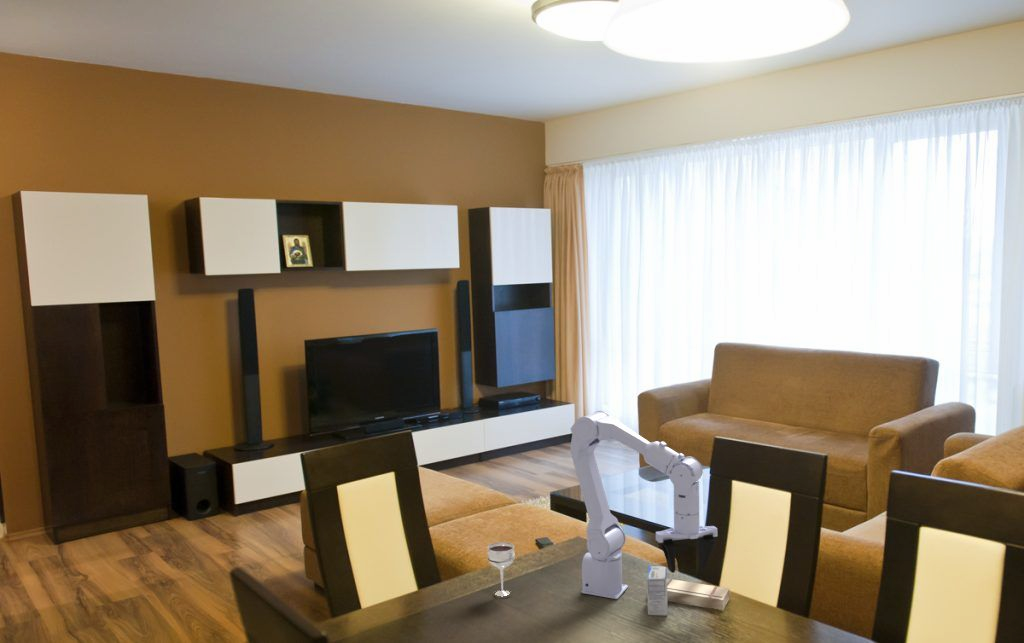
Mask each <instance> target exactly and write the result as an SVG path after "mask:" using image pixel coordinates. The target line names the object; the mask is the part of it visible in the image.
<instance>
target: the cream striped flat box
mask: <svg viewBox="0 0 1024 643" xmlns="http://www.w3.org/2000/svg"><path fill="white" fill-rule="evenodd" d="M729 600H730V588H728V587H722V586H717V585H712V584H711V585H710V584H703V583H697V582H690V581H685V580H679V579H673V578H667V602H672V603H678V604H683V605H689V606H695V607H699V608H700V607H701V608H705V607H707V608H706V609H711V608H714V609H713V610H717V609H718V610H719V611H724V609H725V608H726V606H727V604H728V602H729ZM718 610H717V611H718Z"/></svg>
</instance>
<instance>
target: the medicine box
mask: <svg viewBox="0 0 1024 643" xmlns="http://www.w3.org/2000/svg"><path fill="white" fill-rule="evenodd" d="M667 570H668V568H667V567H666V566H660V565H659V566H658V565H655V566H653V565H652V566H649V565H648V567H647V576H646V577H647V578H646V590H647V591H646V596H647V615H648V616H663V617H665V616H666V617H667V616H668V601H667V579H668V577H667V575H668V574H667Z"/></svg>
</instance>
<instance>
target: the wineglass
mask: <svg viewBox="0 0 1024 643" xmlns="http://www.w3.org/2000/svg"><path fill="white" fill-rule="evenodd" d="M514 549H515V545H514V544H513V543H511V542H506V541H498V542H493V543H490V544H489V545H488V546H487V550H488V552H487V560H488V562H489V564H491V565H492V566H493V567H494V568H497V569H498V570H499V573H500V587H501V591H500V590H497V592H496V591H495V592H496V593H495V595H497V596H501V597H503V596H507V595H509V594H510V592H511V591H510V592H509V590H506V589H505V590H506V591H505V590H504V571H505V569H506V568H508V567H509V566H511V564H513V563H514V561H515V558H516V553H515V550H514Z"/></svg>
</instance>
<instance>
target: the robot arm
mask: <svg viewBox="0 0 1024 643" xmlns="http://www.w3.org/2000/svg"><path fill="white" fill-rule="evenodd" d="M570 432H571V434H572V435H571V441H570V448H569V449H570V450H569V451H570V456H571V458H572V462H573V465H574V469H575V473H576V476H577V480H578V483H579V487H580V490H581V491H580V492H581V494H582V498H583V501H584V505H585V508H586V512H587V516H588V520H589V521H588V524H587V527H586V530H585V532H586V533H585V534H586V536H587V541H586V548H587V551H588V552H586V553H585V554H584V555H583V559H582V563H581V579H582V580H581V582H582V583H581V586H582V589H581V593H582V594H584V595H585V594H586V595H591V596H596V597H597V596H598V597H603V598H607V599H608V598H609V599H612V600H613V599H614V600H618V599H619V598H620V597H621V596H622V595H623V593H625V591H626V590H627V589H628V588H629V585H628V584H623V562H622V561H623V560H622V559H623V558H622V556H623V555H622V547H624V546H625V543H626V541H627V540H626V539H627V536H626V533H625V531H624V529H623V528H622V527H621V525H620V523H619V520H618V518H617V517H616V516H614V515H613V514H612V513H611V510H610V506H609V503H608V499H607V496H606V492H605V489H604V485H603V482H602V479H601V478H602V477H601V474H600V470H599V467H598V464H597V460H596V456H595V453H594V451H596V448H597V447H598V445H599V444H600V442H601V441H607V440H608V441H609V440H614V441H616V442H618V443H620V444H622V445H624V446H626V447H628V448H630V449H631V450H633V451H635V452H637V453H639V454H641V455H642V456H643V459H644V462H645V463H646V464H648V465H650V466H651V467H653V468H654V469H656V470H657V471H659V472H661V473H662V474H664V475H666V476H667V477H669V479H670V482H671V483H672V485H673V527H671V528H668V529H664V530H661V531H660V530H659V531H655V541H657V543H658V544H659V545H660V547H661V549H662V552H663V554H664V557H665V560H666V564H667V570H668V571H669V572H670V573H672V574H673V573H676V553H677V548H678V546H676V545H675V542H673V541H679V540H680V541H681V540H688V539H690V540H695V539H696V542H697V549H698V550H697V551H698V554H697V555H698V562H697V563H698V566H699V567H700V568H701V569H702V570H705V569H707V568H706V567H707V563H708V561H709V560H708V559H709V556H710V554H711V552H712V550H713V549H714V546H715V545H716V539H715V538H716V537H718V536H719V535H718V527H716V526H714V525H710V526H709V525H708V526H707V525H704V526H703V525H700V479H701V478H702V476H703V473H704V472H703V466H702V464H701V462H700V461H698V460H697V459H696V458H695V457H694V456H685V454H683V453H682V452H677V451H675V450H674V449H672V448H670V447H668V444H667V443H666V442H665V441H659V440H658V441H657V440H656V441H652V442H650V441H649V440H647V439H646V438H644V437H642V435H640V434H639V433H637V432H635V431H634V430H632V429H631V428H630V427H628V426H626V425H625V424H624V423H622V422H621V421H619V419H618V418H616V416H614V415H611V414H609V413H608V412H606V411H604V410H596V411H594V412H593V413H590V414H587V415H585V416H583V415H582V416H580V417H578V418H577V419H576V420H575V421H574V423H573V424H572V426H571V427H570Z"/></svg>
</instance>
